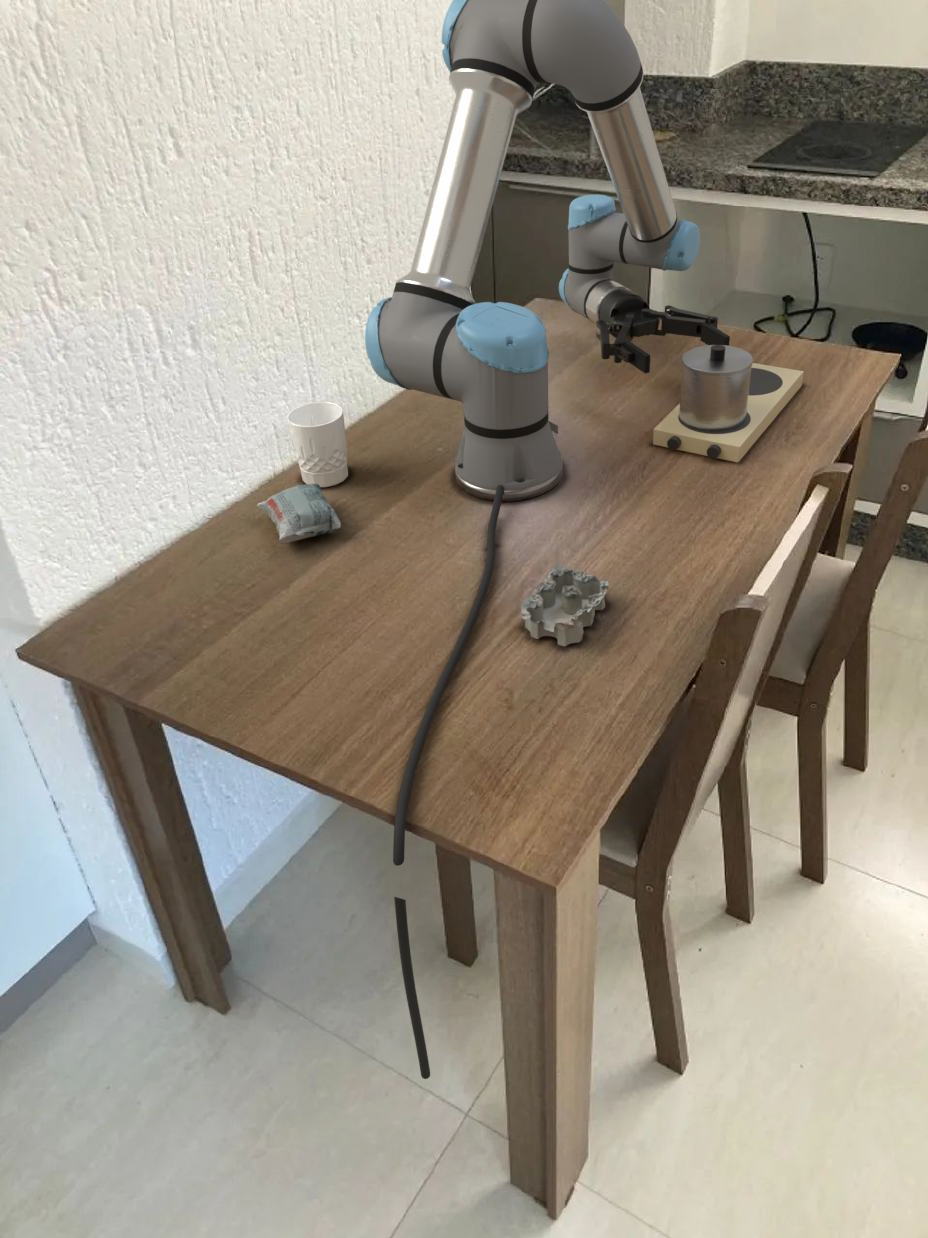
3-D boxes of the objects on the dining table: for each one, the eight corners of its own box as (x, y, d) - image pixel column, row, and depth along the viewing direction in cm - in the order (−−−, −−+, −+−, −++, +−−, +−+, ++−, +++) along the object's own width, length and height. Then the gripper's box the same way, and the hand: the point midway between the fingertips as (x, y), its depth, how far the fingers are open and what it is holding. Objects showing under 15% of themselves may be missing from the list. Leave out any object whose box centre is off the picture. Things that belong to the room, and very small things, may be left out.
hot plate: (735, 465, 142) (737, 449, 141) (649, 447, 148) (650, 431, 147) (801, 385, 161) (803, 370, 160) (723, 372, 167) (724, 357, 166)
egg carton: (573, 653, 112) (573, 623, 110) (514, 634, 116) (513, 605, 113) (615, 601, 119) (615, 572, 117) (558, 584, 122) (557, 556, 120)
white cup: (363, 470, 149) (354, 407, 143) (330, 494, 144) (319, 430, 138) (321, 459, 153) (311, 397, 147) (287, 482, 147) (275, 419, 141)
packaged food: (281, 557, 131) (275, 525, 128) (259, 516, 140) (252, 485, 137) (345, 540, 134) (340, 508, 131) (319, 501, 143) (314, 469, 140)
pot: (728, 437, 144) (735, 366, 138) (666, 422, 149) (670, 353, 143) (757, 410, 150) (765, 341, 144) (697, 396, 155) (702, 329, 149)
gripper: (682, 318, 173) (756, 361, 156) (550, 348, 166) (612, 396, 150) (685, 274, 168) (761, 313, 152) (549, 303, 161) (614, 347, 145)
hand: (687, 354), depth 151 cm, fingers open, 13 cm apart
